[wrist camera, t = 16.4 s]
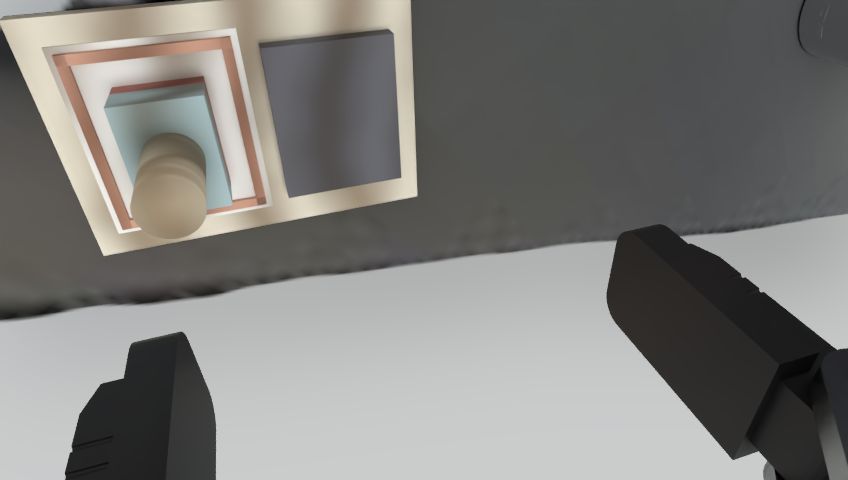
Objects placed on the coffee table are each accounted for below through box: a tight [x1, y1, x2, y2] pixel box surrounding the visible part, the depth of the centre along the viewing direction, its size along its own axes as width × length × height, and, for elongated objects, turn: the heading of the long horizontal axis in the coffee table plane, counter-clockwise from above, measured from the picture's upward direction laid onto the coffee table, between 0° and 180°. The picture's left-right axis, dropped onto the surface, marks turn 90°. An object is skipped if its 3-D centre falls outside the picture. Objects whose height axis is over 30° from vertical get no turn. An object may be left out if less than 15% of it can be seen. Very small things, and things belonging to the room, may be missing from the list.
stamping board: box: [0, 0, 417, 256], centre depth 35 cm, size 22×15×2 cm
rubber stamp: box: [104, 76, 233, 239], centre depth 30 cm, size 5×7×9 cm
